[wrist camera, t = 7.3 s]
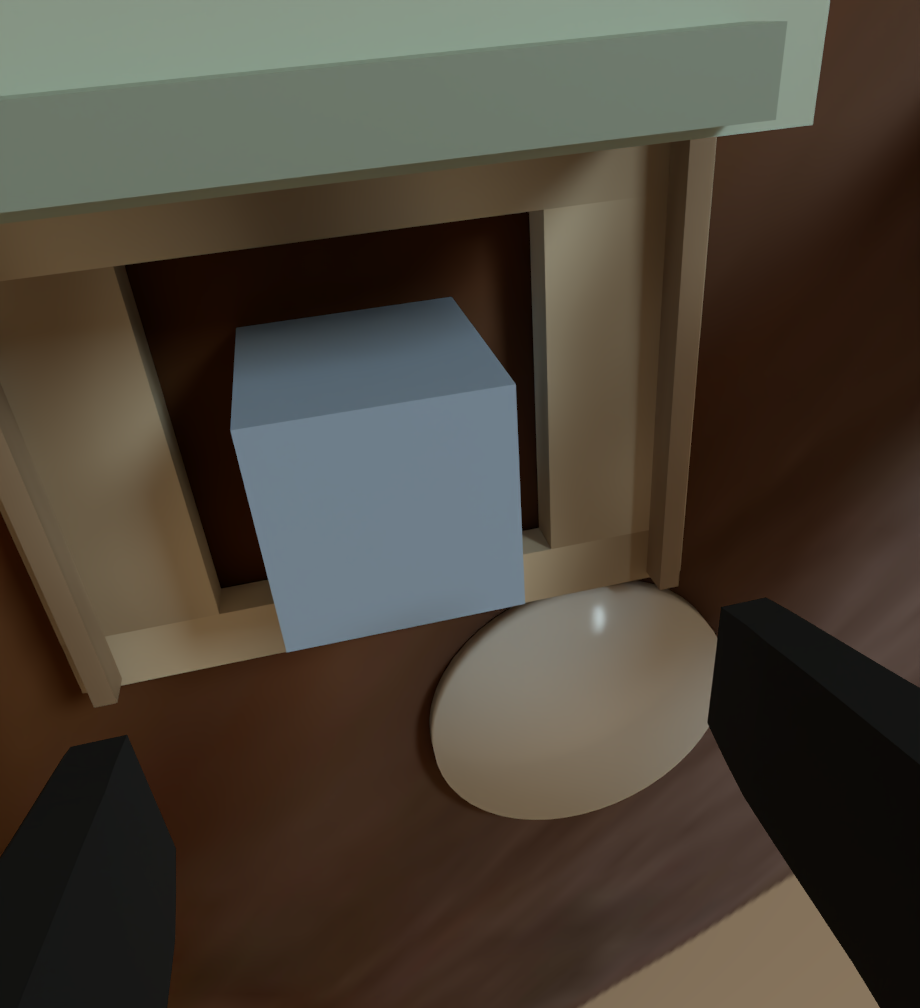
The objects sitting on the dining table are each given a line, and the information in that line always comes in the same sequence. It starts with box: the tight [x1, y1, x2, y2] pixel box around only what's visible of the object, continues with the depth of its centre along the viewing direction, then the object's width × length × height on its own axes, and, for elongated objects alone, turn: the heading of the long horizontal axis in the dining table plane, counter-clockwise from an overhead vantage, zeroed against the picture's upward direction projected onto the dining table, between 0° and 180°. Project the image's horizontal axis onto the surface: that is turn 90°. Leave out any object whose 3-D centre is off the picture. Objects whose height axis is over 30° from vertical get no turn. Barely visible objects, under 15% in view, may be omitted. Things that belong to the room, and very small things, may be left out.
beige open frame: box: [0, 137, 717, 708], centre depth 14 cm, size 15×21×2 cm
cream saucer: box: [429, 580, 717, 820], centre depth 24 cm, size 9×9×1 cm
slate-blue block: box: [230, 297, 525, 652], centre depth 16 cm, size 4×4×5 cm
